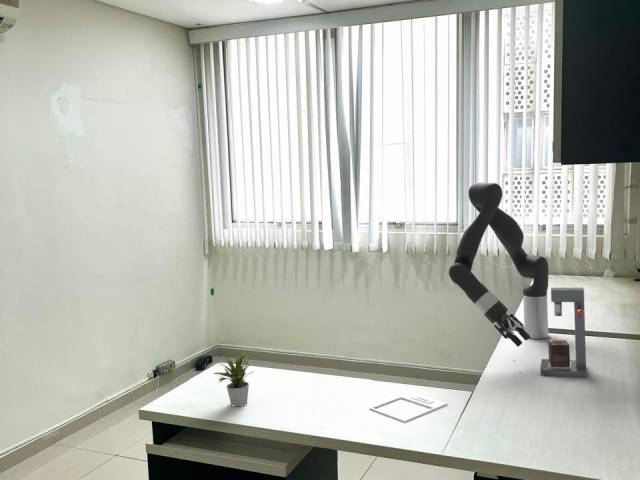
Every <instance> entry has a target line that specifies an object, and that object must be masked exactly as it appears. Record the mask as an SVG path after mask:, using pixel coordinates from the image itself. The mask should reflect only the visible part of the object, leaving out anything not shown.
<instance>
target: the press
mask: <svg viewBox="0 0 640 480" xmlns="http://www.w3.org/2000/svg"><path fill="white" fill-rule="evenodd" d="M550 295H551V296H550V299H551V303H553V308H554V310H553V311H554V312H553V313H554V316H555V317H563V303H573V306H574V308H573V310H574V340H575V341H574V342H575V346H574V348H575V359H574V360H571V359H570V366H551V364H550V362H549V358H541V360H540V361H541V362H540V369H539V370H540V376H544V377H563V378H565V377H567V378H582V379H583V378H584V379H587V377H588V372H587V355H586V352H587V347H586V318H585V315H586V314H585V313H586V312H585V289H584V287H550Z"/></svg>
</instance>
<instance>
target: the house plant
mask: <svg viewBox="0 0 640 480" xmlns="http://www.w3.org/2000/svg"><path fill="white" fill-rule="evenodd" d="M245 354H246V351H244V352H243V353H242V354H241V356H239V355H237V356H236V359H235V365H234V363H233V361H232V360H231V359H229V358H227V357H226V356H224V355H222V358H224V359H225V360H226V362H227V364H228V366H229V367H228V366H226V365H225V364H223V363H221V362H220V363H219V362H217V364H218V365H219V366H221V367H222V366H223V367H224V368H223V369H224V371H225V372H213V374H214V375H219V376H220V378H219V379H218V381H219V382H218V383H219V384H220V383H221V382H223V381H225V380H226V381H229V383H228V384H227V385H226V389H227V394H228V398H229V402H230V406H231V405H234V406H241V405H245V404H246V405H247V404H248V400H249V399H248V398H249V386H250V385H249V381H246V377H247V376H248V375H250V374H252V373H253V371H251V372H249V373H247V374H246V371H247V369H248V368H249V367H250V365H251V364H252V362H253V361H251V362H250V363H249V360H250V357H249V358H248V355H246V356H245ZM247 358H248V359H247ZM248 363H249V364H248ZM246 405H245V406H246ZM241 407H242V406H241Z"/></svg>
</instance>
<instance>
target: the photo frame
mask: <svg viewBox="0 0 640 480" xmlns="http://www.w3.org/2000/svg"><path fill="white" fill-rule="evenodd" d="M400 399H402V400H404V401H407V402H410V403H413V404H416V405H420V406H422V407H425V408H428V409H427V410H425V411H423V412H419V413H417V414H415V415H413V416H410V417H408V418H405V419H404V418H402V417H399V416H396V415H393V414H390V413H387V412H385V411H383V410H380V409H377V408H380V407H382V406H385V405H388V404H390V403H394V402H395V401H399V400H400ZM446 406H448V402H445V401H441V400H438V399H435V398H432V397H428V396H425V395H422V394H418V393H415V392H412V391H410V392H408V393H406V394H403V395H400V396H397V397H395V398H392V399H390V400H387V401H384V402H382V403H379V404H375V405H373V406H371V407H369V410H370V411H371V412H375V413H379V414H381V415H383V416H387V417H389V418H391V419H394V420H397V421H400V422H402V423H407V422H410V421H412V420H414V419H417V418H420V417H422V416H424V415H427V414H429V413H431V412H434V411H436V410H438V409H441V408H443V407H446Z"/></svg>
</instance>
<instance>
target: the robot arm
mask: <svg viewBox="0 0 640 480" xmlns="http://www.w3.org/2000/svg"><path fill="white" fill-rule="evenodd" d="M468 198H469V201H470V203H471V205H472V206H473V207H474V208H475V210H476V211H478V214H477V216H476V218H475V219H474V220H473V222H472V223H470V225H469V226H468V227H467V228H466V229H465V230H464V232H463V234H462V236H461V238H460V241H459V243H458V246H457V249H456V255H455V256H456V257H455V260H454V262H453V264H452V265H451V266H450V267H449V269H448V276H449V278H450V279H451V282H453V283H454V284H456V285H457V286H458V287H459V288H460V289H461V291H463V292H464V293H465V295H466V297H467V298H468V299H470V301H471V302H472V303H473V304H474V305H475V307H476V308H477V310H479V312H480V313H481V314H483V316H484V317H485V318H486V319H487V320H488V321H489V322H490V323H491V324H494V325H493V326H494V329H496V330H497V332H499V334H501V336H502V337H503V339H506V340H507V339H508V340H510V341H511V342H512V343H513V344H514V345H515V346H516V347H520V346H521V345H523V341H522V340H521V339H520V338H519V337H518V336H517V335H516V334H515V333H514V332H517V333H518V334H519V335H520V336H521V338H523V340H524V341H528V340H529V339H531V340H532V339H534V340H541V339H547V338H549V314H548V313H549V312H548V310H549V309H548V306H549V305H548V290H549V289H548V288H549V269H550V268H549V262H548V260H547V258H546V257H545V256H540V255H529V254H527V253H526V252H525V250H524V249H523V243H524V238H525V237H524V232H523V229H522V228H521V227H520V225H519V223H518V222H517V221H516V220H515V218H513V217H512V216H511V215H510V214H508V213H507V212H505V211H504V210H502V209H501V208H499V206H500V204H501V201H502V199H503V188H502V187H501V185H500V184H498V183H496V182H476V183H473V184H471V186H470V187H469V189H468ZM488 226H489V227H490V228H491V229H492V231H493V232H494V234H495V236H496V237H497V239H498V241H499V242H500V243H501V245H502V246H503V247H504V249H505V251H506V252H507V254H508V255H509V257H510V259H511V261H512V263H513V265H514V267H515V269H516V271H517V273H518V274H519V275H520V276H521V277H523V278H525V279H526V278H528V279H533V282H532V284H531V285H528V286H525V287H524V288H523V289H522V301H523V303H522V304H523V322H522V321H520V319H519V318H517V317H516V316H515V315H514V313H510V314H507V312H508V311H509V310H508V307H506V305H504V303H502V301H501V300H500V299H499V298H498V297H497V296H496V295H494V293H492V292H491V291H490V290H489V289H488V288H487V287H486V286H485V285H484V284H483V283H482V282H481V281H480V280H478V278H477V277H476V276H475V275H474V273H473V272H472V269H473V264H474V262H475V261H474V260H475V258H476V255H477V253H478V250H479V247H480V245H481V243H482V239H483V236H484V235H485V233H486V230H487V229H488ZM523 323H524V324H523Z"/></svg>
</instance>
